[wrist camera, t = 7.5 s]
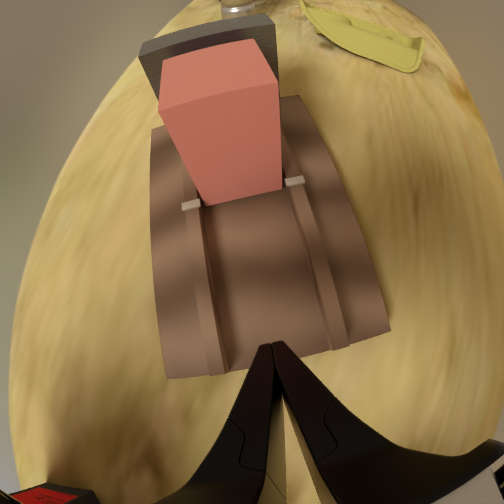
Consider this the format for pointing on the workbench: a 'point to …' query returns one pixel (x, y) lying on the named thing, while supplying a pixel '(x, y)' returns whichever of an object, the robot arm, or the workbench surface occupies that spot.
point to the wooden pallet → (259, 260)
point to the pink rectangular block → (224, 119)
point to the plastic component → (367, 38)
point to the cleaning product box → (55, 495)
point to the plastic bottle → (237, 8)
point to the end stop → (209, 43)
